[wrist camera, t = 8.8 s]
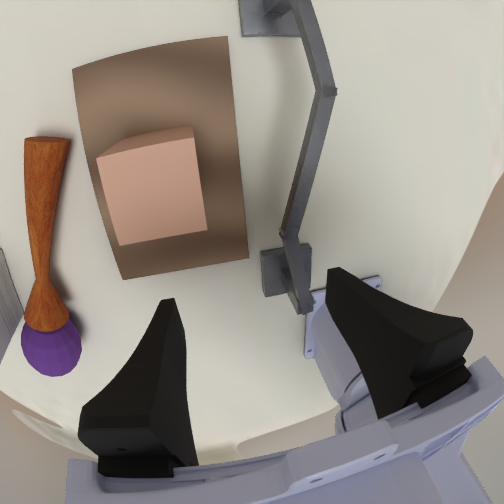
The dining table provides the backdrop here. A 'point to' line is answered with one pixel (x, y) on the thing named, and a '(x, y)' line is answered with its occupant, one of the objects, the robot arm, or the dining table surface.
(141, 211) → the block
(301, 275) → the grey door handle
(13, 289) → the supplement box
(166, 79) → the walnut board
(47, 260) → the kendama
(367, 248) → the dining table surface
